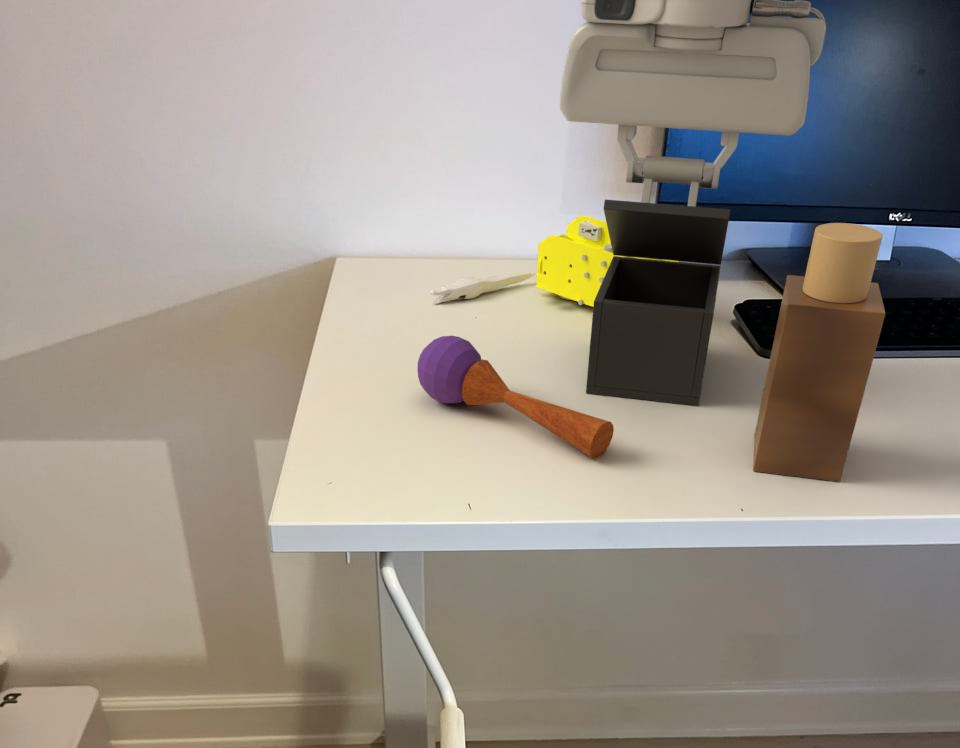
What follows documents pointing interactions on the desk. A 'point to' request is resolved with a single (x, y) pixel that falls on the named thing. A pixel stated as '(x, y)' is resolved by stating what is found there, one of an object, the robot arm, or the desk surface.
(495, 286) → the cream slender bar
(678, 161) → the dark box lid
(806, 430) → the stand
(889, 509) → the desk surface
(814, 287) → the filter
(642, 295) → the dark open-top box
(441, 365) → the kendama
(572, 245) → the yellow toy chassis
